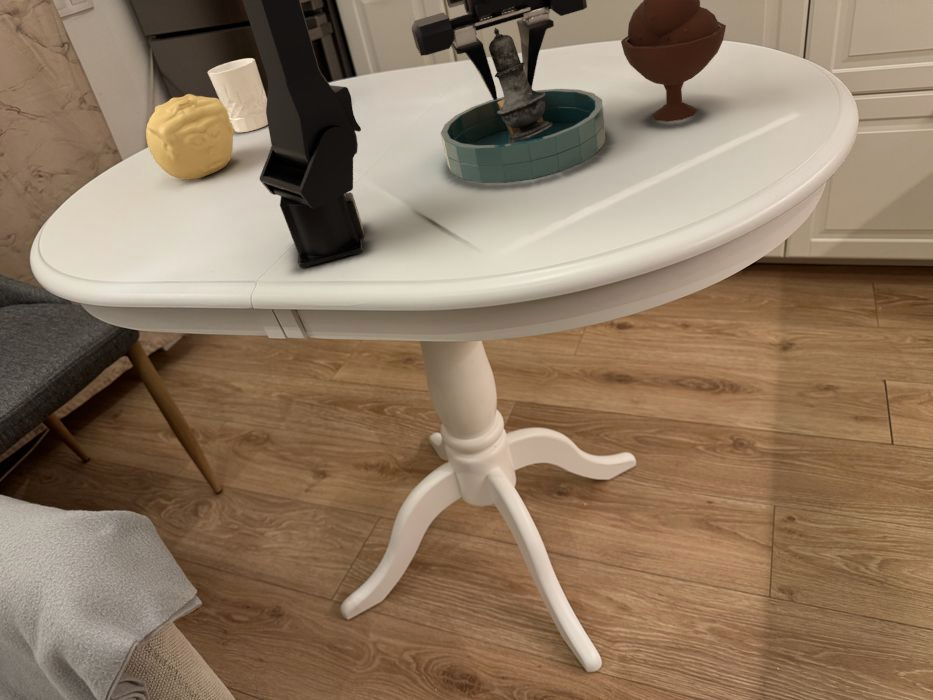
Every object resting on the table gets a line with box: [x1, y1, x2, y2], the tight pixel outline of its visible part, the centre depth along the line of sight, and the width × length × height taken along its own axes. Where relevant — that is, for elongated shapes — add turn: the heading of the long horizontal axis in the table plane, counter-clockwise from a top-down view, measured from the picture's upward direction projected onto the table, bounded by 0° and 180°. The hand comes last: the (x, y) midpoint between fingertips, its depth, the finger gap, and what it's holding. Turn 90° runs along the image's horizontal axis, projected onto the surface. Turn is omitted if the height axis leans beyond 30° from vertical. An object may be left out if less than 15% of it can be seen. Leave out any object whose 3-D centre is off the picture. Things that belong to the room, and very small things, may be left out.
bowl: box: [440, 88, 606, 184], centre depth 81 cm, size 19×19×4 cm
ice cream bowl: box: [620, 0, 727, 123], centre depth 77 cm, size 11×11×15 cm
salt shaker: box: [488, 27, 553, 142], centre depth 79 cm, size 6×6×12 cm
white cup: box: [207, 57, 268, 133], centre depth 116 cm, size 8×8×10 cm
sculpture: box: [145, 93, 235, 180], centre depth 100 cm, size 12×12×11 cm
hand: (512, 94), depth 81 cm, fingers closed on salt shaker, 4 cm apart
